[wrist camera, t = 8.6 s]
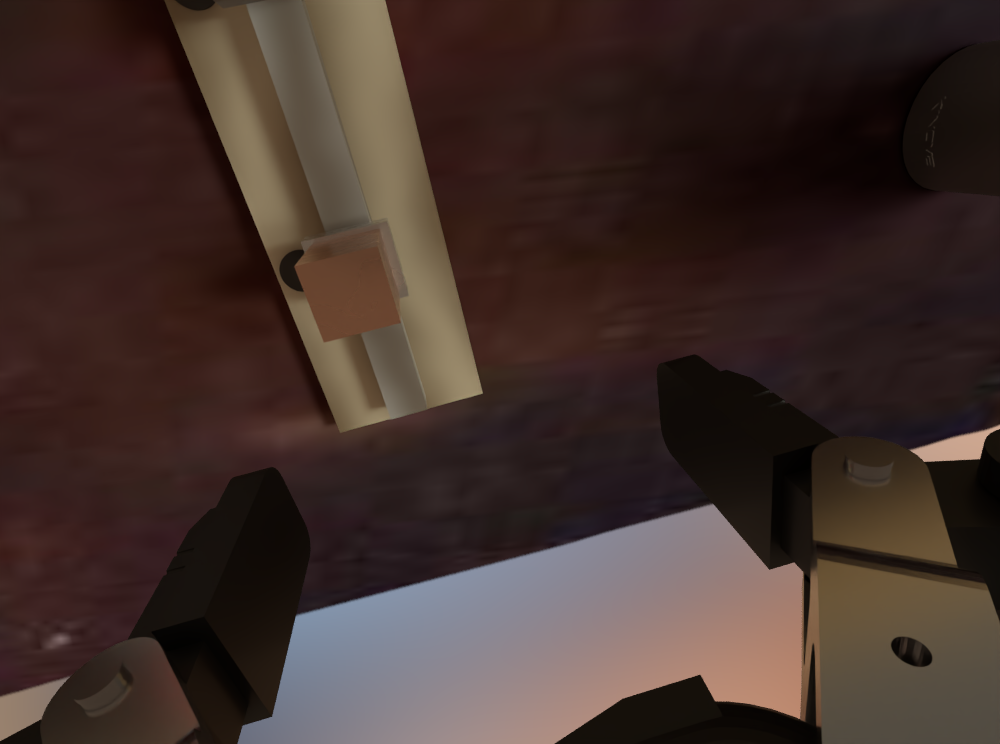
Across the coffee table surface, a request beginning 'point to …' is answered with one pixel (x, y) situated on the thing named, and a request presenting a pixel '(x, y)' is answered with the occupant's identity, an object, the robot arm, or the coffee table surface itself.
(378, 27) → the bolt-hole plate
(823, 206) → the coffee table surface
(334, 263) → the block
